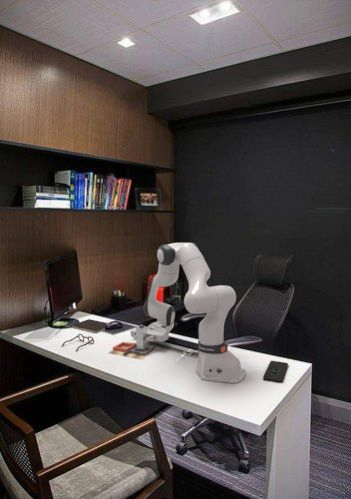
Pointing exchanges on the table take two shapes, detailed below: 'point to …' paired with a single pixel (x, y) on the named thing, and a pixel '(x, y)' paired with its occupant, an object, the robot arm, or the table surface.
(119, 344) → the socket
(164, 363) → the table surface
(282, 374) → the smart home device
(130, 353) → the flat brown board
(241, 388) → the table surface
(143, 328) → the lock bolt
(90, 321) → the hardcover book
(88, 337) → the glasses
